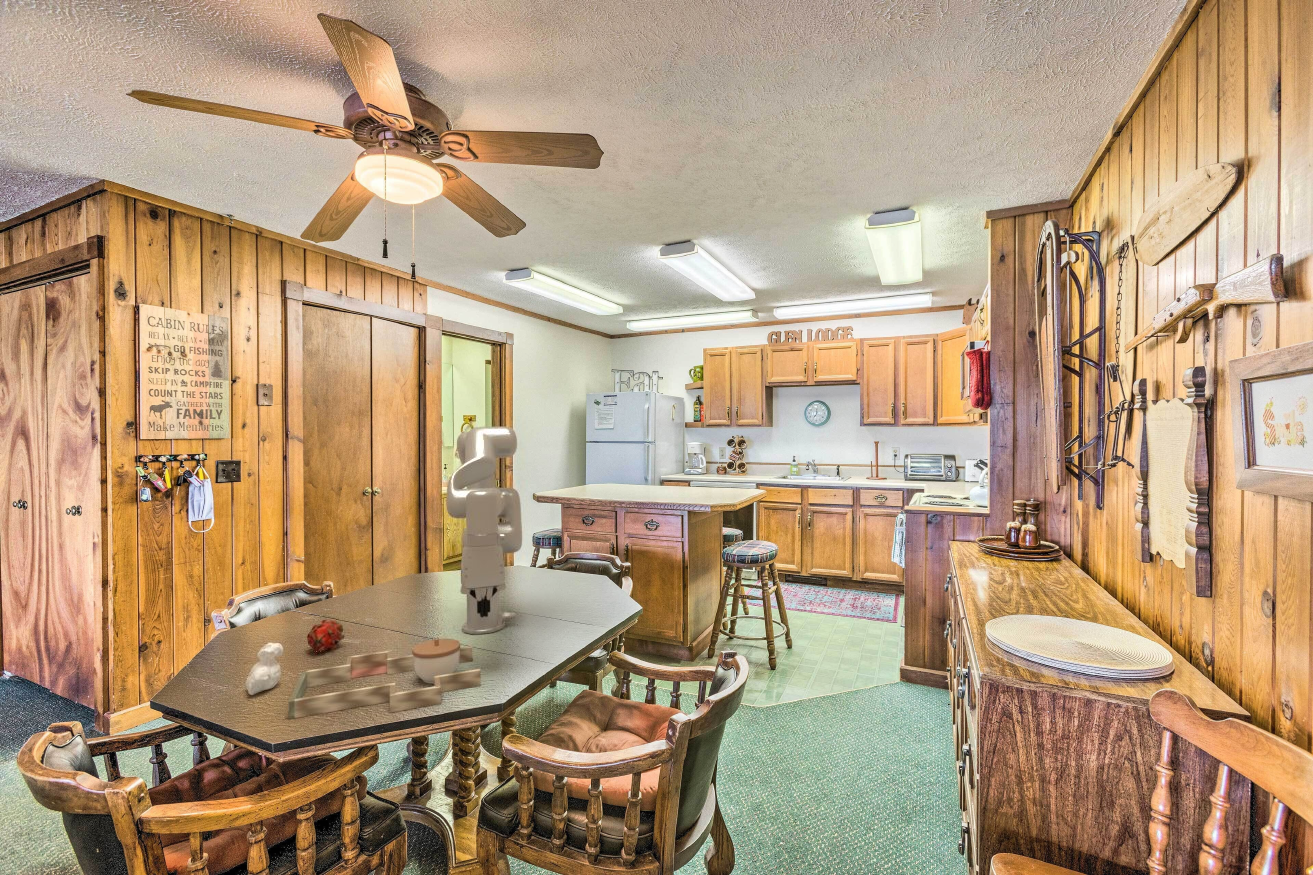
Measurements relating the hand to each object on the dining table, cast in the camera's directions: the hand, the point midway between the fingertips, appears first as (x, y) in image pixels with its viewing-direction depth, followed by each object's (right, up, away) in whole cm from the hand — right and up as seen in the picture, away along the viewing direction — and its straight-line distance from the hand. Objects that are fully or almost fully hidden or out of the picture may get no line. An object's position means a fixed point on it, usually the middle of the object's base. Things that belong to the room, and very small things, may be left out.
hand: (483, 615), depth 145 cm
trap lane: (-19, -14, -8) cm, 25 cm away
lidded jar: (-10, -14, -4) cm, 18 cm away
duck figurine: (-49, -15, -7) cm, 51 cm away
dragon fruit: (-49, -15, +18) cm, 54 cm away
